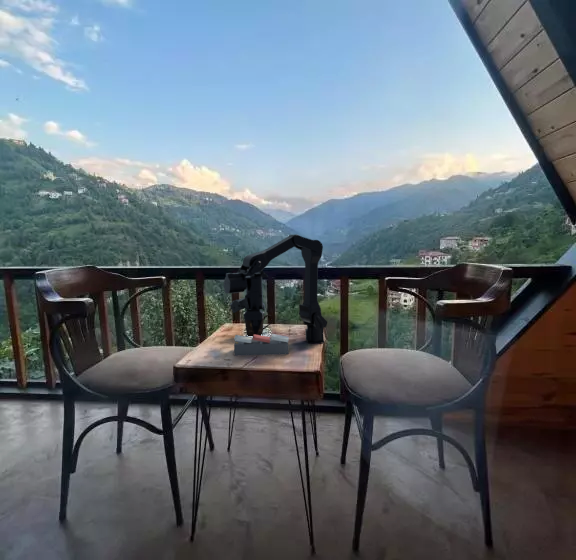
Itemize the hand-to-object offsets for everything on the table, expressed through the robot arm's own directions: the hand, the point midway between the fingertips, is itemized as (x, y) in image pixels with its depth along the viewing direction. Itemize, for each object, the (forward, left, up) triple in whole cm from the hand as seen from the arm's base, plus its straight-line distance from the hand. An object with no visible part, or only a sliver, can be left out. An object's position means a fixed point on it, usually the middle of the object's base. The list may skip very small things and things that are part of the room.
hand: (255, 334), depth 128 cm
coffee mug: (+1, -22, -7) cm, 23 cm away
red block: (-2, 0, -2) cm, 3 cm away
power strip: (-2, -2, -7) cm, 8 cm away
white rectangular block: (+5, 0, -2) cm, 5 cm away
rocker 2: (-8, 0, -2) cm, 9 cm away
